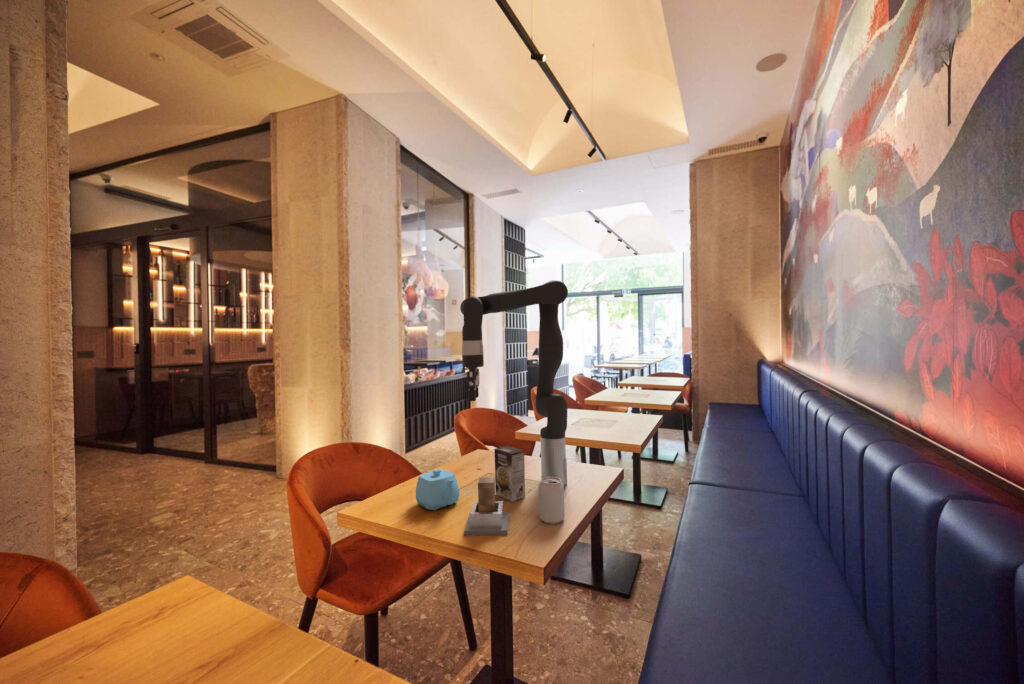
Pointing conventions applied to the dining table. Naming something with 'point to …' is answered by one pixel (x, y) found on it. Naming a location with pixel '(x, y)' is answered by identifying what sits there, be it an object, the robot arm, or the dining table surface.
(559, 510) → the can
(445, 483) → the teapot
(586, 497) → the dining table surface
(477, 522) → the dock
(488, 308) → the robot arm
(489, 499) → the long tan beam
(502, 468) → the coffee box
